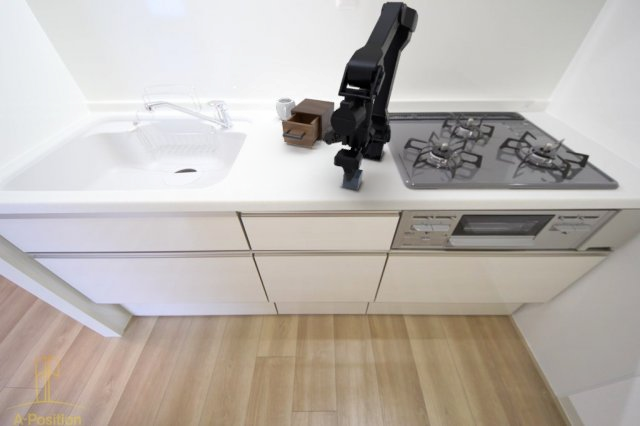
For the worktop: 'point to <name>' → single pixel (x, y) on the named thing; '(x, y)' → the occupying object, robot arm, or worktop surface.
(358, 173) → the block
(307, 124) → the drawer
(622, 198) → the worktop surface
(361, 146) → the robot arm
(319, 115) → the cabinet
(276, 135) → the worktop surface
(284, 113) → the mug
